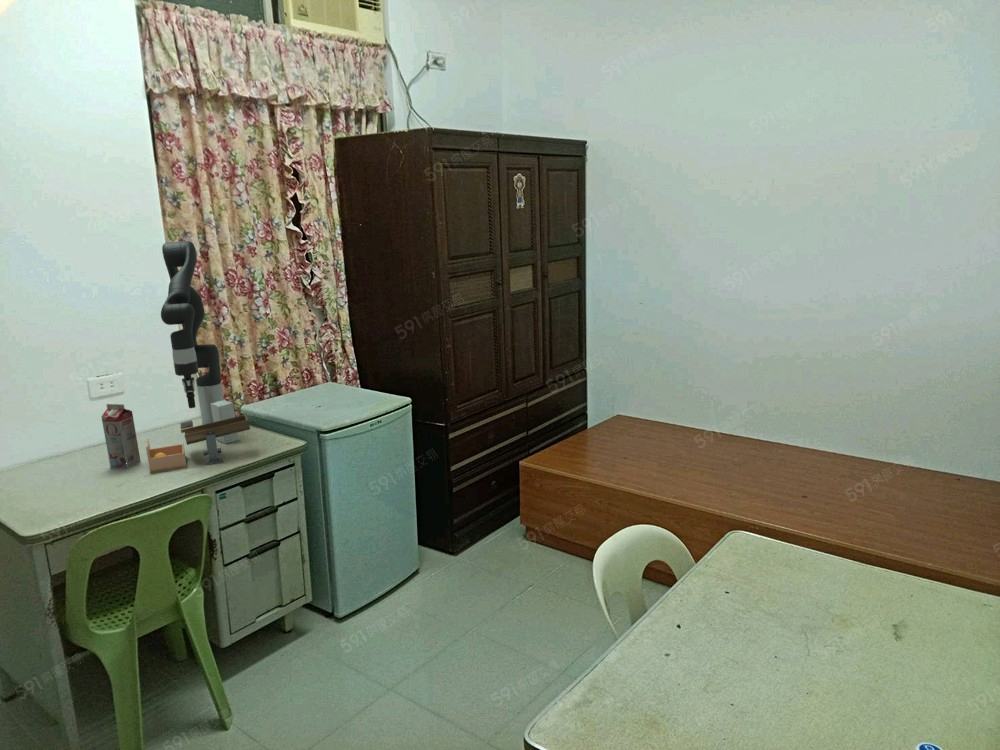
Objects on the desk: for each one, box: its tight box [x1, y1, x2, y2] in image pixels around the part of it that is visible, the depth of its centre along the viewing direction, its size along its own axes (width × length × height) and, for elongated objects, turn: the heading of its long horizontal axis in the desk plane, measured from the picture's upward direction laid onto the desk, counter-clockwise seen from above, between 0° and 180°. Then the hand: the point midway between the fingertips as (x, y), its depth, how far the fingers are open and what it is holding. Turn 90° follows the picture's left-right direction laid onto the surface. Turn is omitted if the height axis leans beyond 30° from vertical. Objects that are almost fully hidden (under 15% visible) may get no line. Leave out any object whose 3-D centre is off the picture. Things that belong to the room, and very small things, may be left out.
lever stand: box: [202, 433, 225, 466], centre depth 246 cm, size 14×6×10 cm, turn 25°
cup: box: [145, 438, 187, 474], centre depth 241 cm, size 11×11×9 cm
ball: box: [154, 453, 166, 458], centre depth 240 cm, size 4×4×4 cm
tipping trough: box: [179, 414, 251, 446], centre depth 250 cm, size 18×22×4 cm
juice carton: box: [101, 403, 142, 470], centre depth 241 cm, size 7×7×22 cm
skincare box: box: [210, 399, 240, 444], centre depth 264 cm, size 8×6×15 cm
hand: (191, 404), depth 249 cm, fingers open, 8 cm apart
